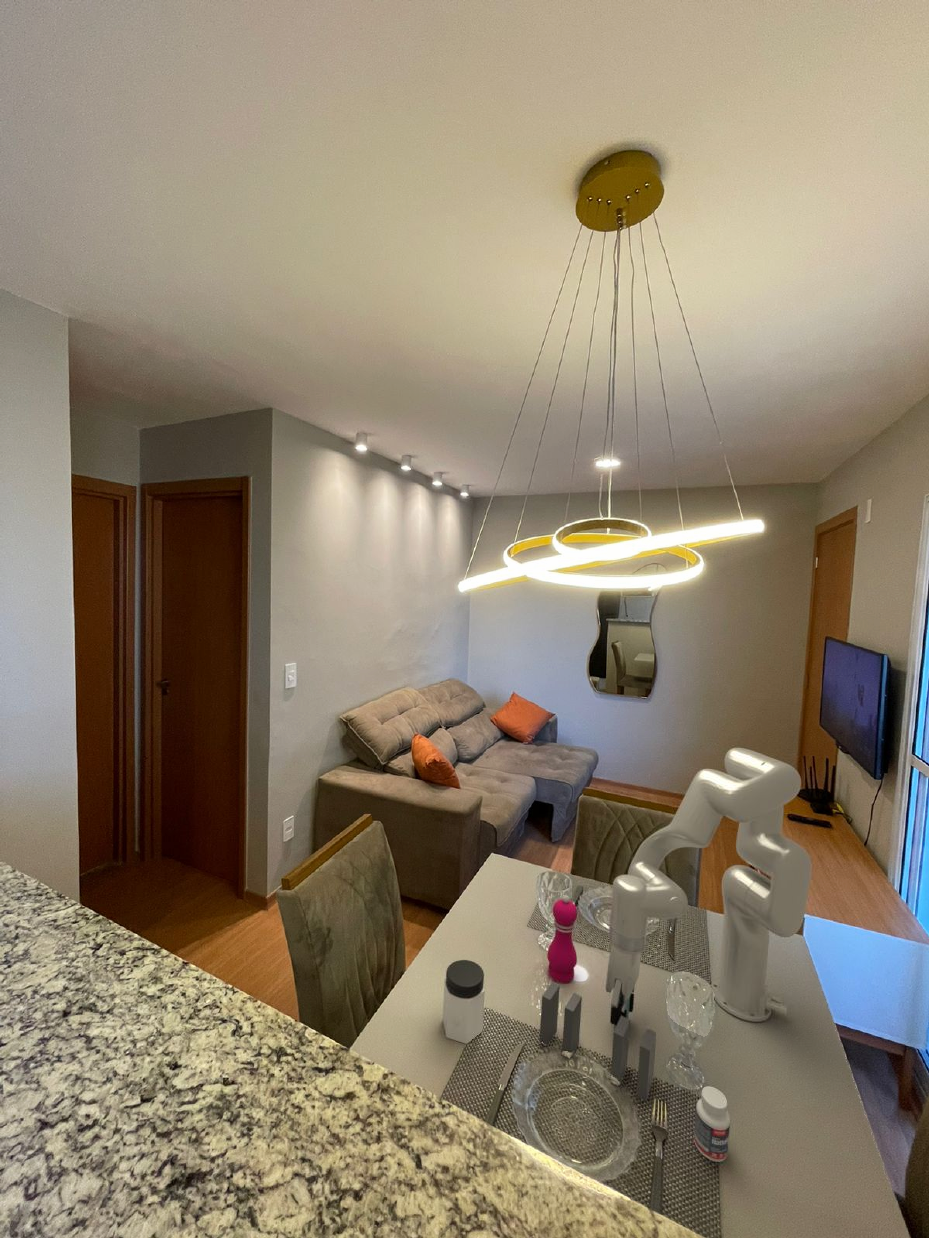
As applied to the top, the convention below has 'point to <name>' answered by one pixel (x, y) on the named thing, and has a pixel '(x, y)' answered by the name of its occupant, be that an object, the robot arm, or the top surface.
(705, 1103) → the pill bottle
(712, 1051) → the top surface
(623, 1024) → the domino
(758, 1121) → the top surface
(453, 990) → the jar
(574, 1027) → the domino
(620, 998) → the domino
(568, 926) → the pepper mill
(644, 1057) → the domino
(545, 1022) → the domino
